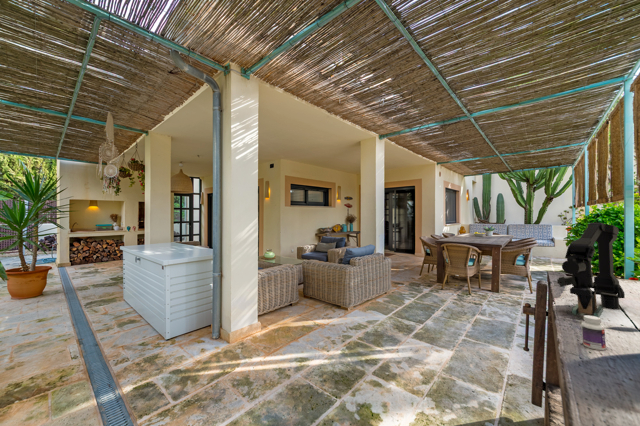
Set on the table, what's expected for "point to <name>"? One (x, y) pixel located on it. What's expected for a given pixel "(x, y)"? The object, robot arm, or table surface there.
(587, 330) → the pill bottle
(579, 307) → the block
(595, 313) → the rail
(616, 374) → the table surface
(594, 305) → the mounted finger
